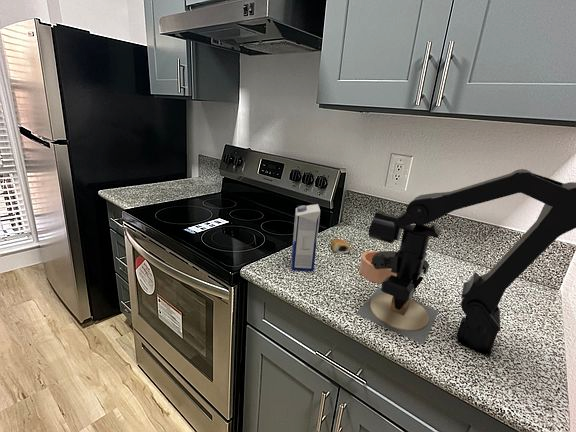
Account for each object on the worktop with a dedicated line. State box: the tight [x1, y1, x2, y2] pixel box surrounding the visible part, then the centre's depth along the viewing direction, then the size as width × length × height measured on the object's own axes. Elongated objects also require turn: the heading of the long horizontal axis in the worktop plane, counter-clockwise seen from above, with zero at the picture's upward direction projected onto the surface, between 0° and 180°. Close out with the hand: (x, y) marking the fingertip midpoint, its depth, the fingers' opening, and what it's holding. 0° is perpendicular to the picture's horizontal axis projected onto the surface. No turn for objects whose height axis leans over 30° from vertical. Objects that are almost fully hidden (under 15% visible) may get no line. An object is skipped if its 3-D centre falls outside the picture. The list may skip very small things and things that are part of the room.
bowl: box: [359, 250, 397, 285], centre depth 96 cm, size 12×12×6 cm
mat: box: [355, 287, 440, 345], centre depth 78 cm, size 16×16×1 cm
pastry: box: [330, 238, 352, 254], centre depth 113 cm, size 9×7×4 cm
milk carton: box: [290, 203, 321, 273], centre depth 95 cm, size 7×7×20 cm
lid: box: [370, 294, 429, 331], centre depth 77 cm, size 14×14×6 cm
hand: (400, 305), depth 77 cm, fingers closed on lid, 3 cm apart
